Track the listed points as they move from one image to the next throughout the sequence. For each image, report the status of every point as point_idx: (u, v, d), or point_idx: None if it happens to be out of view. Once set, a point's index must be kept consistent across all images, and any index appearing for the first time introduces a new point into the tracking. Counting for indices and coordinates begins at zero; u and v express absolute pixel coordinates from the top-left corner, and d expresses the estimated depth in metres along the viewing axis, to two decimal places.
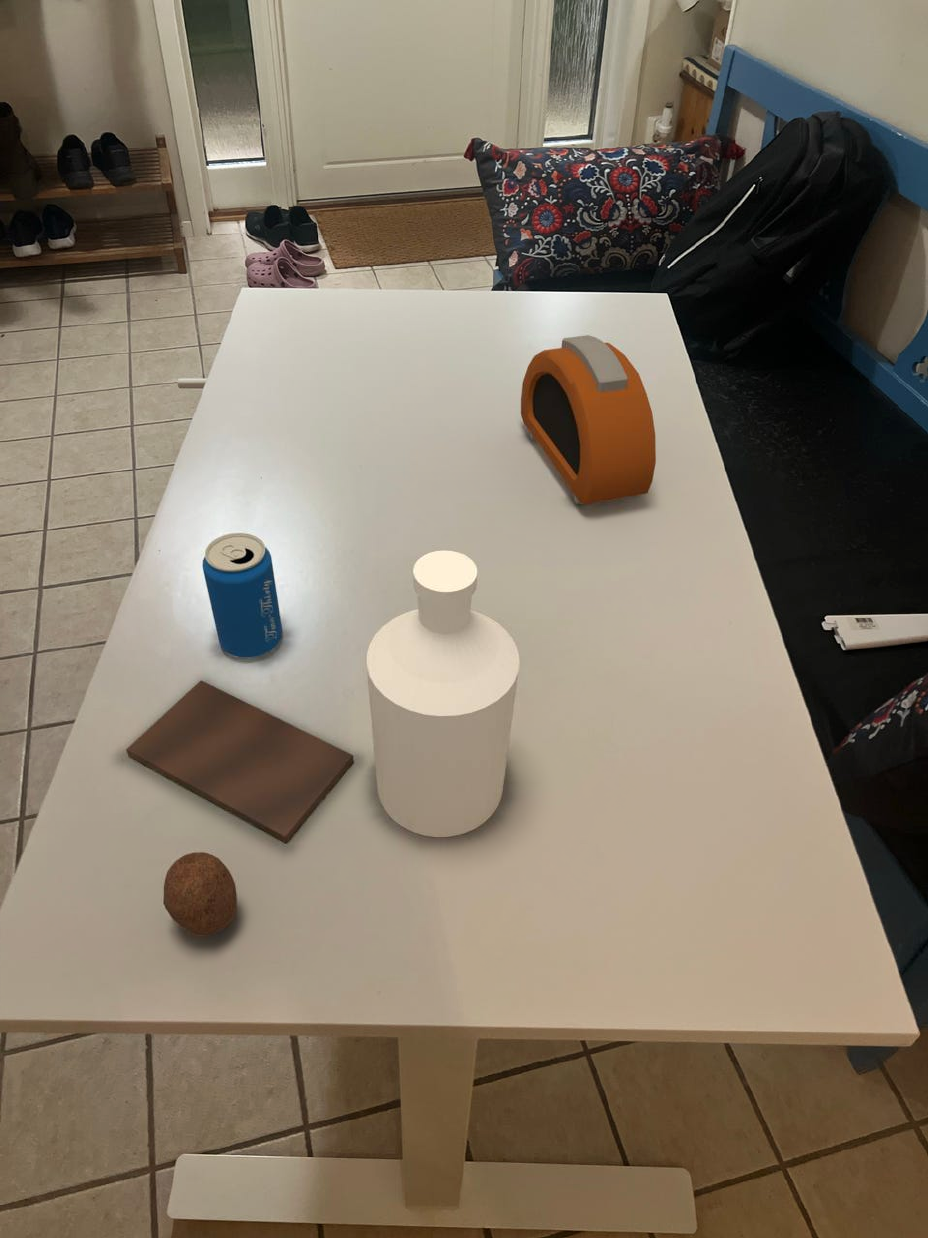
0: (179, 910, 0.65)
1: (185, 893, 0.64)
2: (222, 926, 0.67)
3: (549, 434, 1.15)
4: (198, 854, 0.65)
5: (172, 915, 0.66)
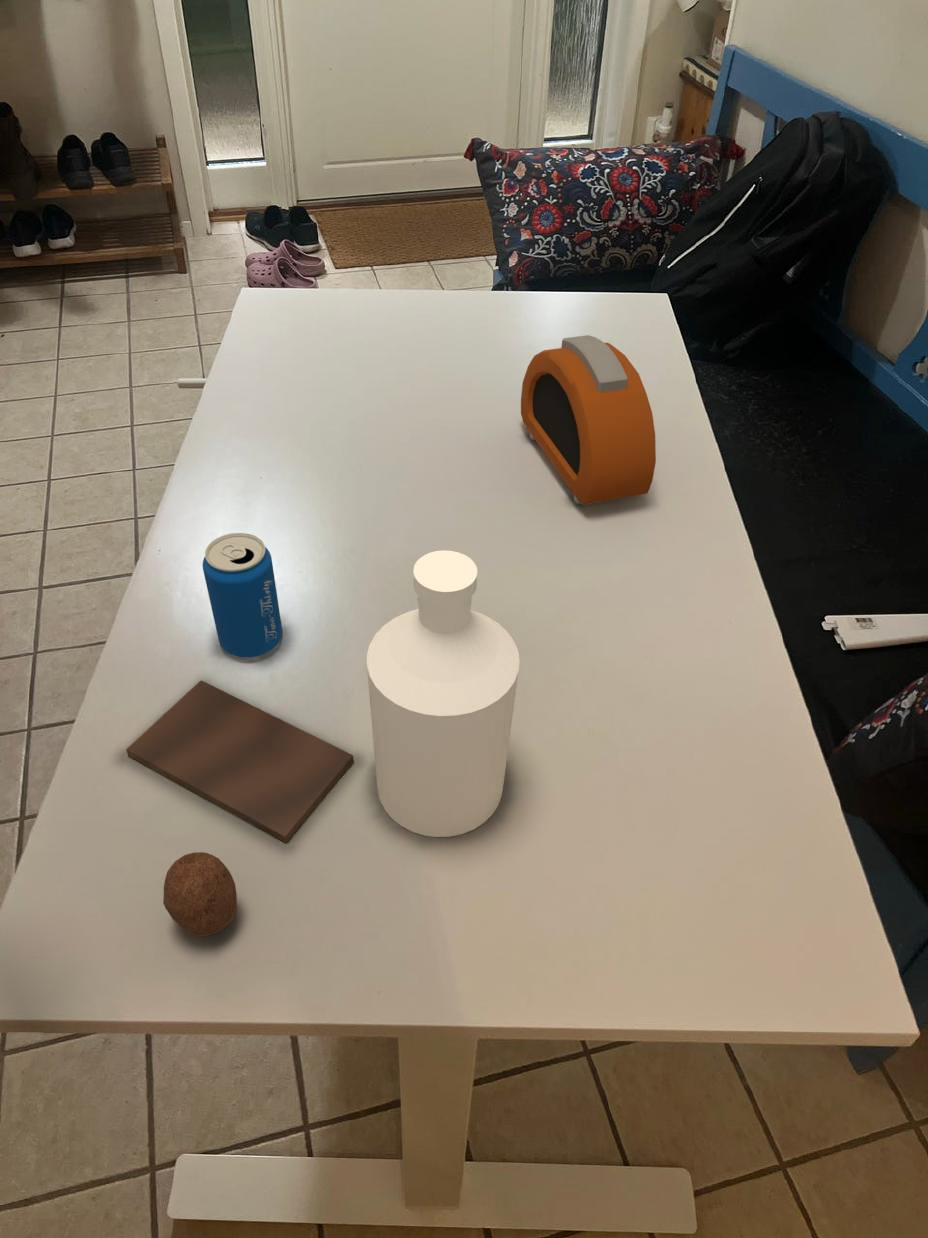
0: (179, 910, 0.65)
1: (185, 893, 0.64)
2: (222, 926, 0.67)
3: (549, 434, 1.15)
4: (198, 854, 0.65)
5: (172, 915, 0.66)
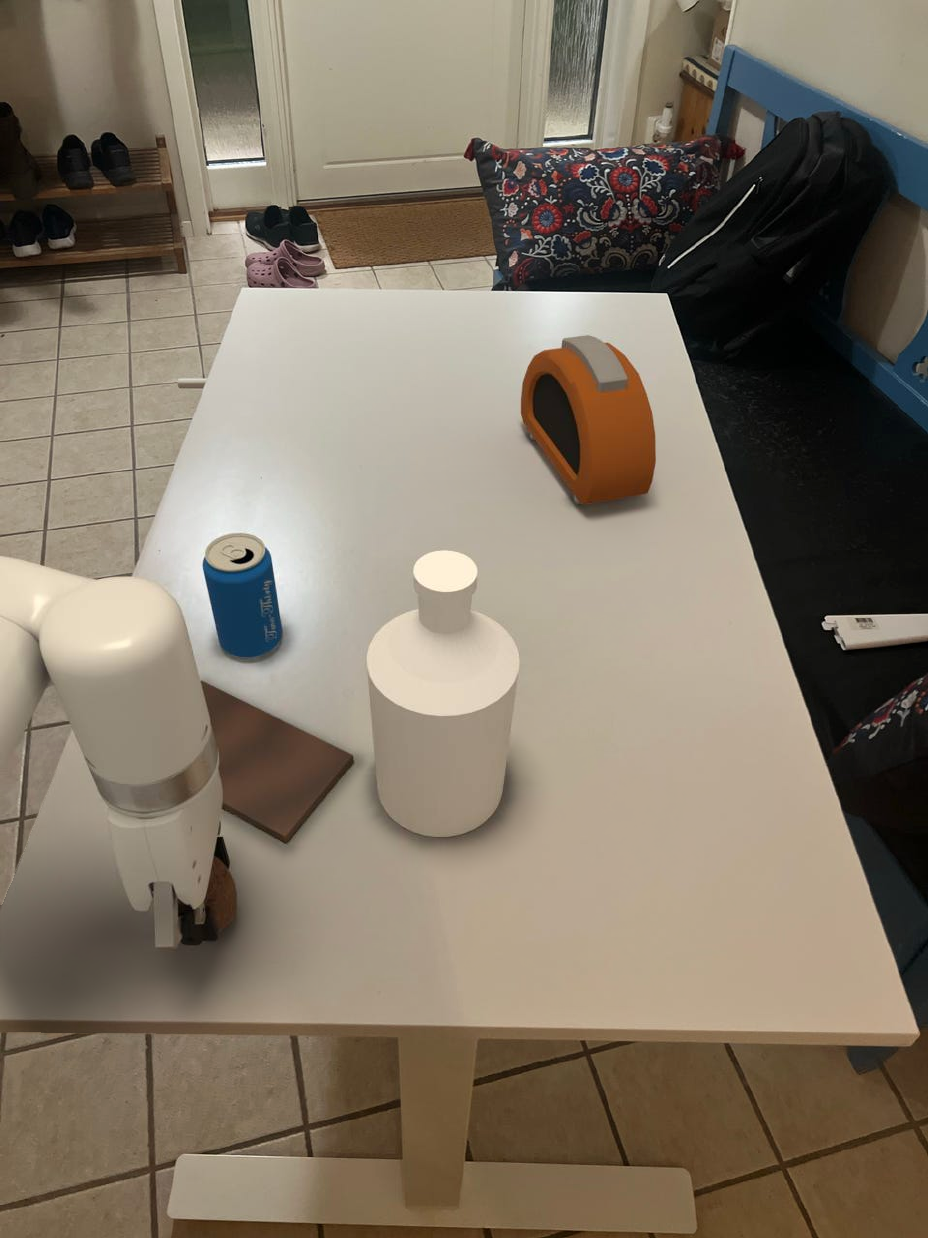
0: None
1: None
2: (222, 926, 0.67)
3: (549, 434, 1.15)
4: None
5: None
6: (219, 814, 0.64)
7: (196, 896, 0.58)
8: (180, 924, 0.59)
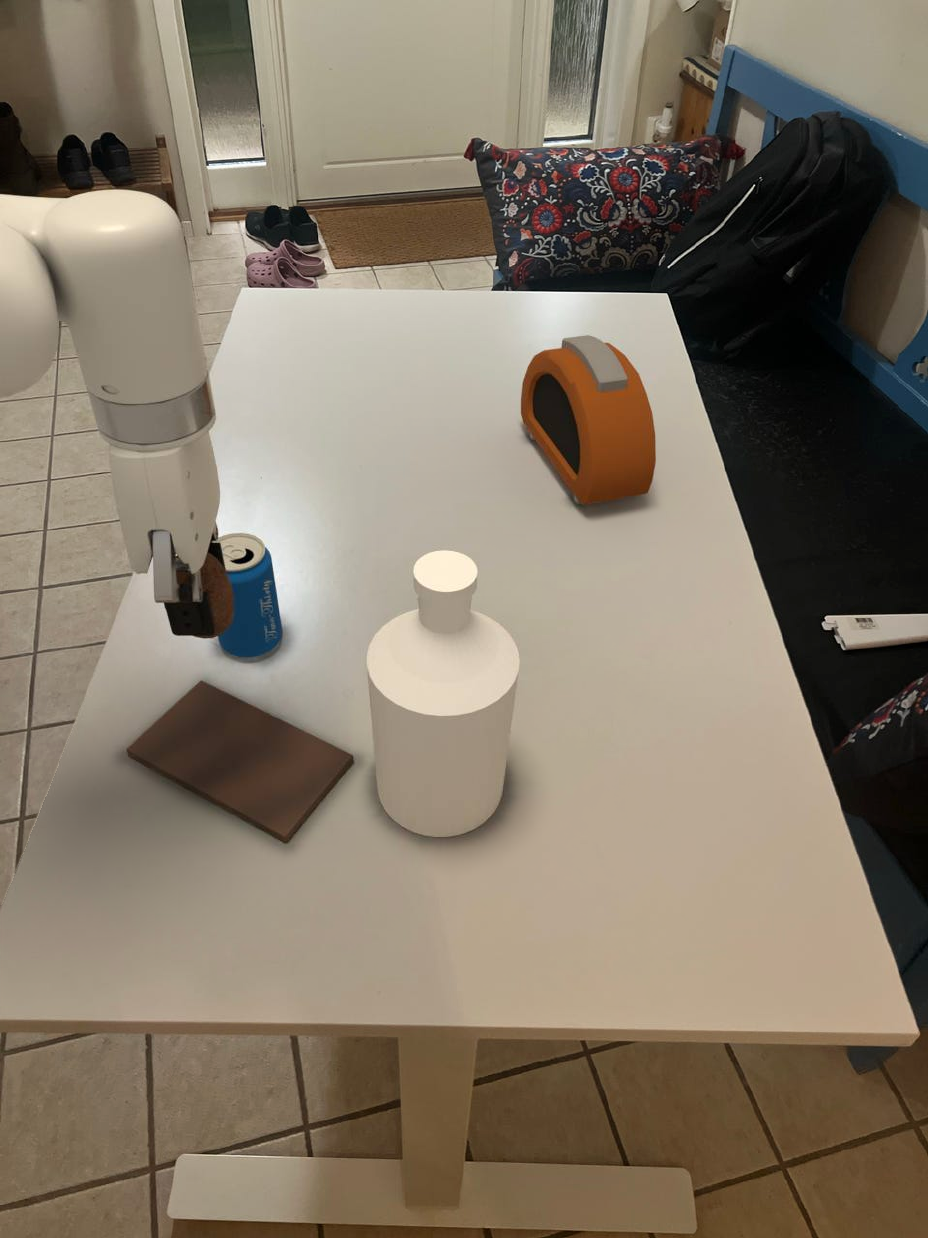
0: None
1: (184, 581, 0.66)
2: (220, 626, 0.69)
3: (549, 434, 1.15)
4: None
5: None
6: (216, 505, 0.66)
7: (193, 554, 0.60)
8: (178, 585, 0.61)
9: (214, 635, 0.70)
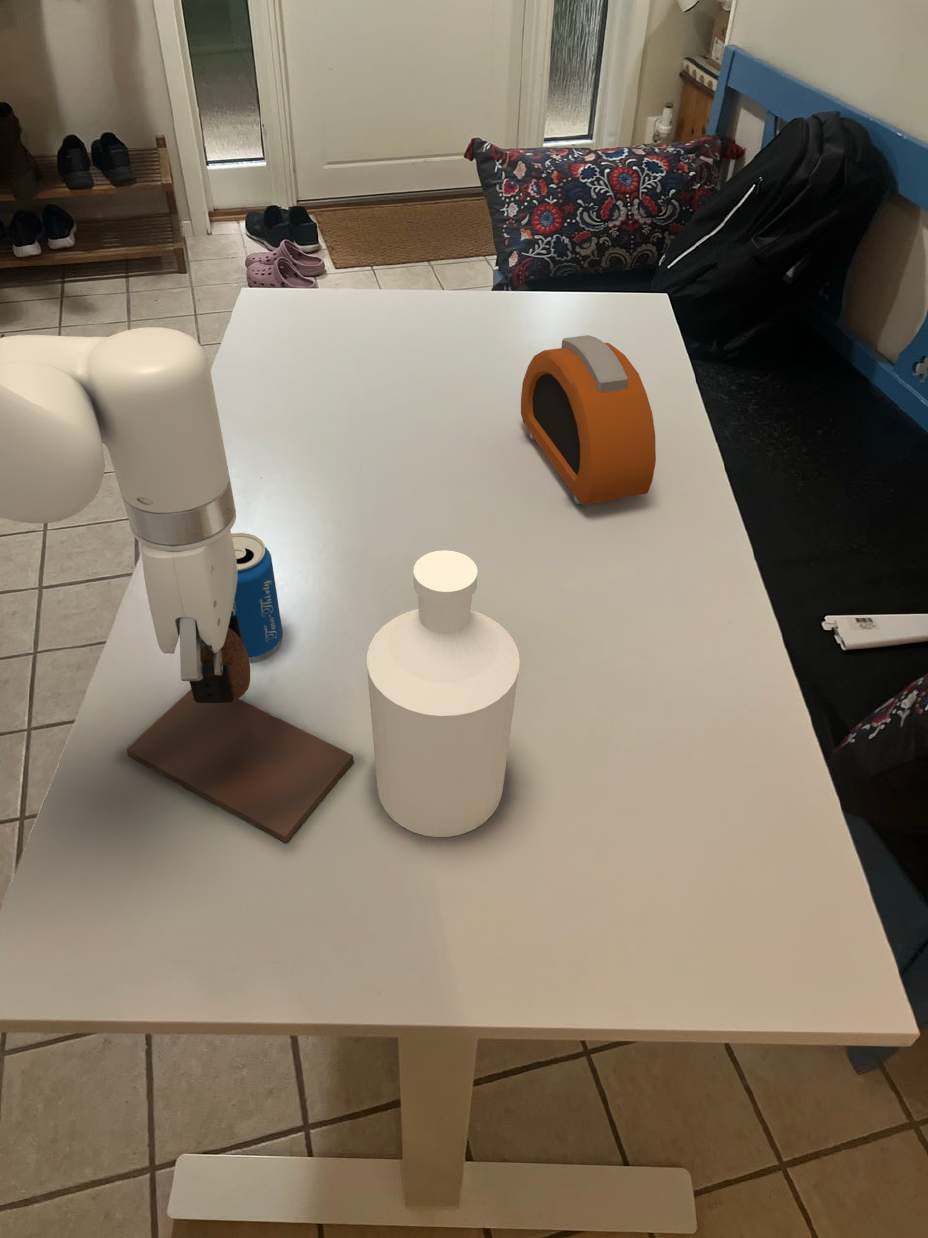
0: None
1: (205, 654, 0.73)
2: (237, 693, 0.76)
3: (549, 434, 1.15)
4: None
5: None
6: (235, 585, 0.73)
7: (216, 637, 0.67)
8: (202, 664, 0.68)
9: None
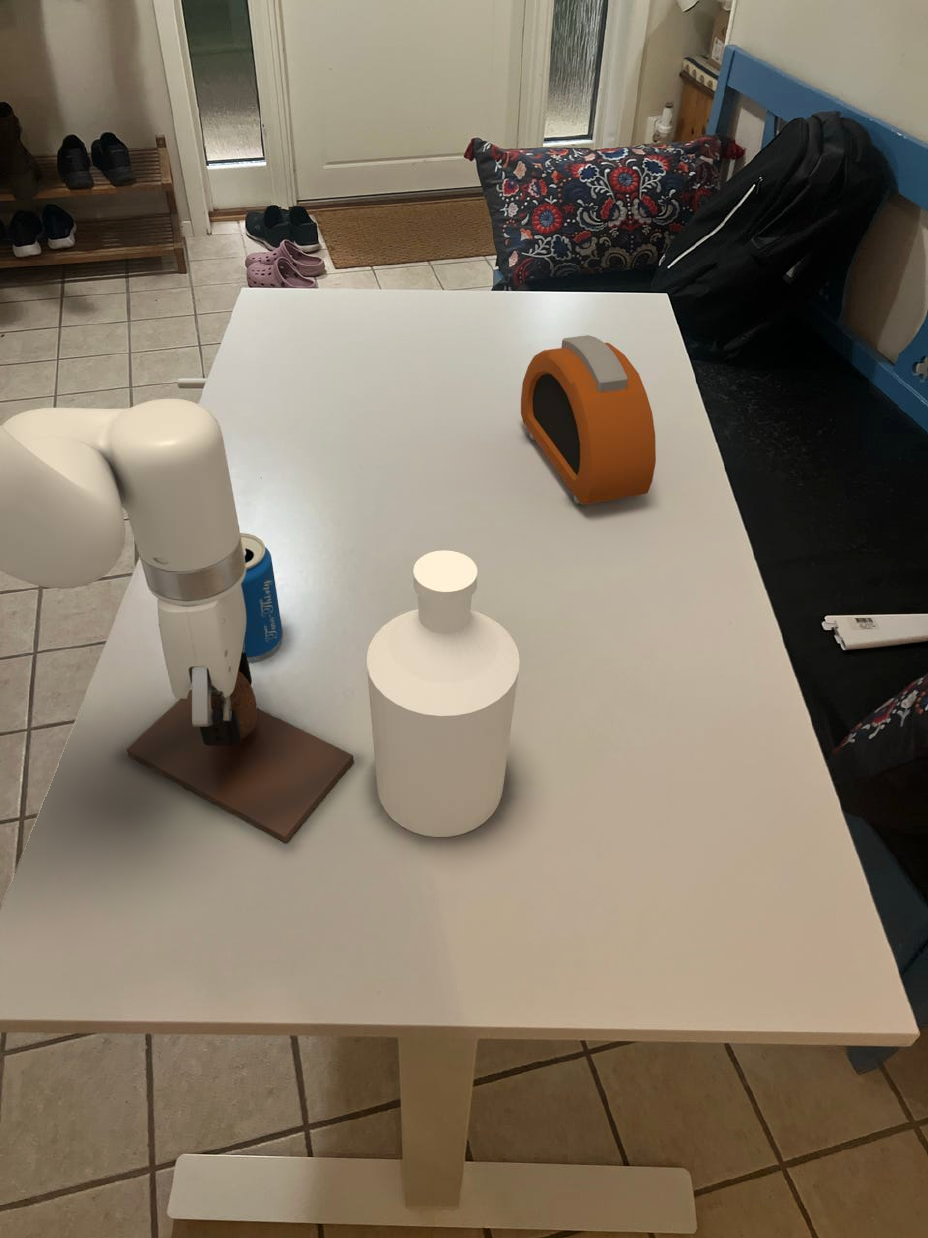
0: None
1: (215, 696, 0.76)
2: (245, 731, 0.79)
3: (549, 434, 1.15)
4: None
5: None
6: (244, 631, 0.76)
7: (226, 684, 0.71)
8: (212, 711, 0.71)
9: None
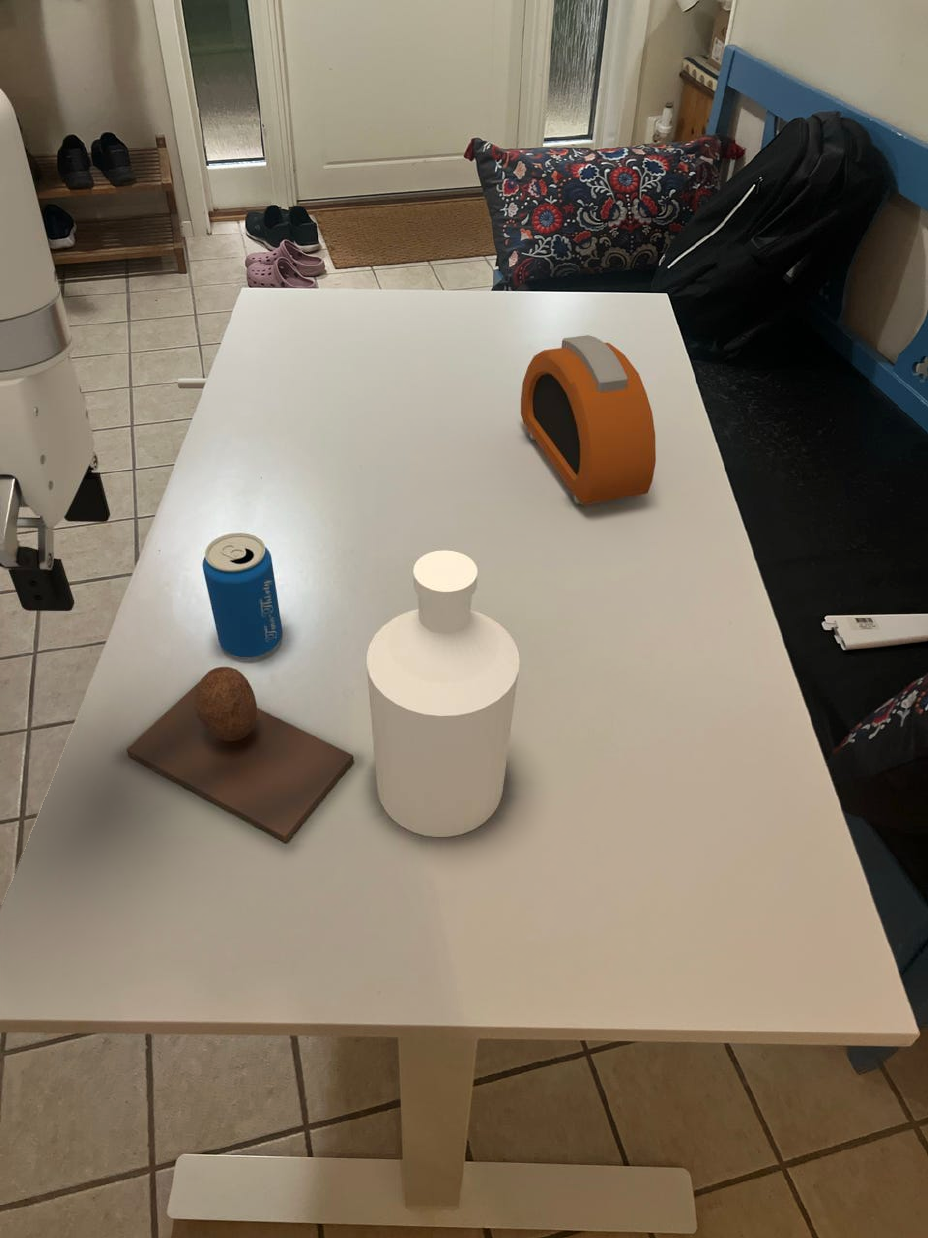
0: (209, 712, 0.77)
1: (214, 696, 0.76)
2: (245, 731, 0.79)
3: (549, 434, 1.15)
4: (225, 667, 0.78)
5: (203, 719, 0.78)
6: (86, 455, 0.59)
7: (47, 505, 0.53)
8: (17, 541, 0.52)
9: (239, 738, 0.80)
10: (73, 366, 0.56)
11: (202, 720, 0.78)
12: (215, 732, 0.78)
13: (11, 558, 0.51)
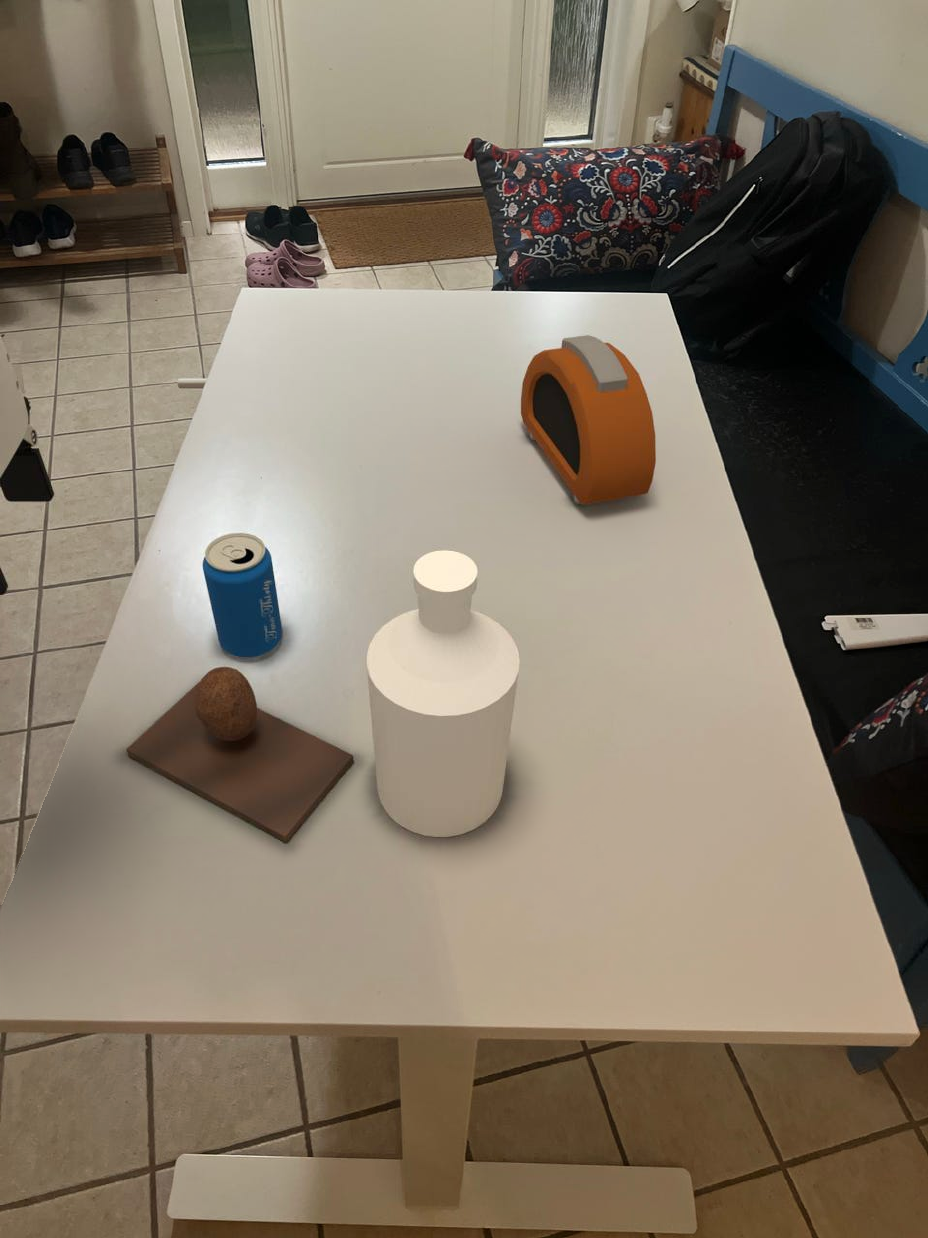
0: (209, 712, 0.77)
1: (214, 696, 0.76)
2: (245, 731, 0.79)
3: (549, 434, 1.15)
4: (225, 667, 0.78)
5: (203, 719, 0.78)
6: (17, 428, 0.55)
7: None
8: None
9: (239, 738, 0.80)
10: None
11: (202, 720, 0.78)
12: (215, 732, 0.78)
13: None
